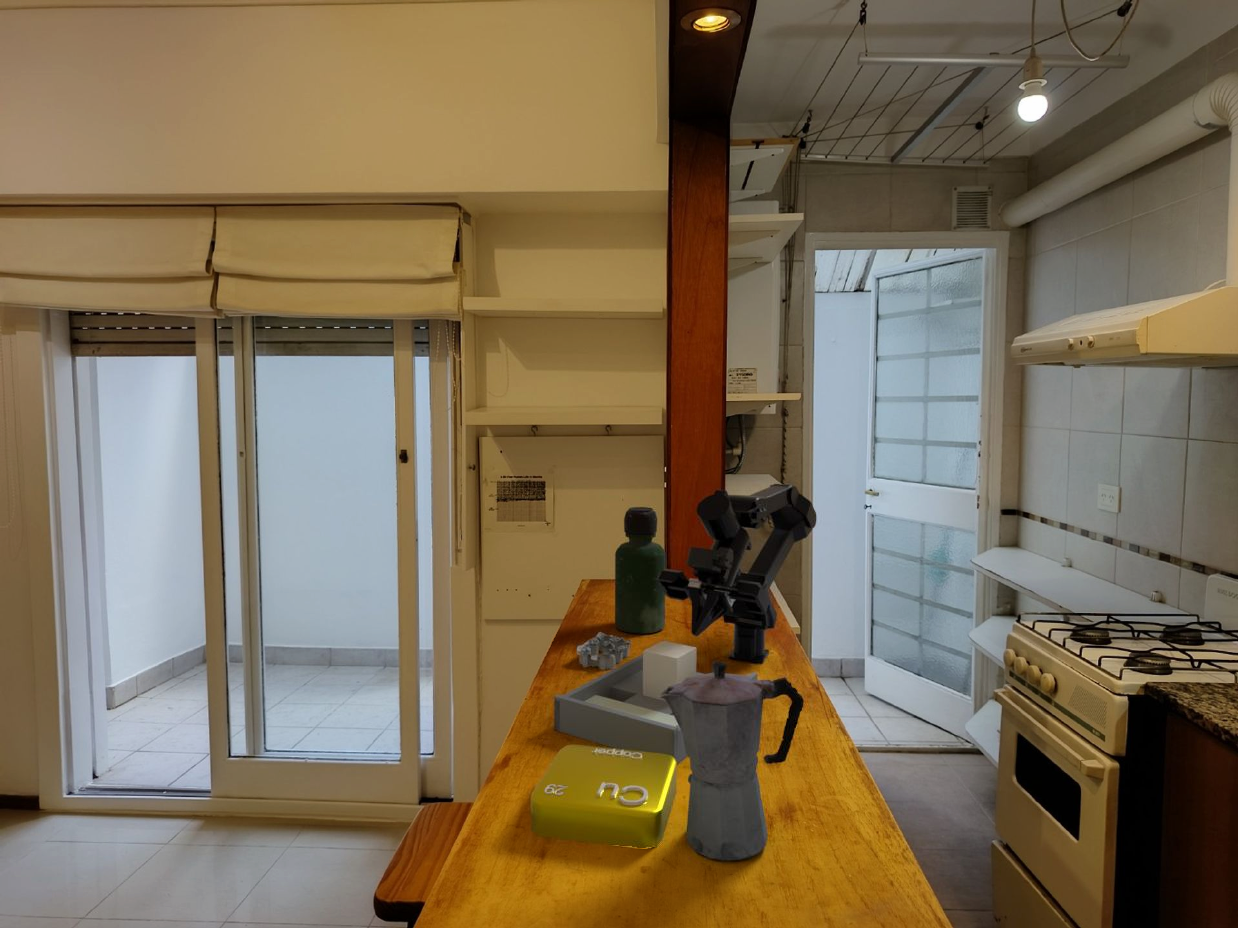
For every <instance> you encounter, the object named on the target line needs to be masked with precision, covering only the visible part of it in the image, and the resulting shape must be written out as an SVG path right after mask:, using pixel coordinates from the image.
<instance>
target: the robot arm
mask: <svg viewBox="0 0 1238 928" xmlns="http://www.w3.org/2000/svg"><path fill="white" fill-rule="evenodd" d="M696 513H697V516H698V518H699V520H700V521H701V524H702V525H703V527H704V529H705V531H706V533H707V535H708V536H709V537H710V538H711V539H713V543H712V545H711V547H710V548H703V547H694V546H690V547H689V550H688V554H687V559H686V564H685V565H686V567H689V568H691V569H693V571H692V574H693V576H694V577H695V578H689V579H688V578H687V576H686V575H685V573H684V571H682V570H677V569H669V568H665V569H664V570H662V571H661V572H660V573H659V576H658V578H657V582H658V584H659V585H660V587H661V588H662V590H663V591H664V593H665V597H667V598H669V599H672V600H677V601H678V600H679V601H682V602H684V601H686V600H687V599H688V600H690V602H691V603H690V604H691V635H692V636H694V637H699V636H700V635H701V634H702V633H704V631H706V630H707V629H708V628H709V627H710V626H711V625H713V623H715V622H716V621H717V620H719V619H720V618H723V623H725V624H731V625H732V624H733V649H732V650H731V651H730V653H729V654H728V656H727V657H728V659H730V660H738V661H746V662H753V663H759V664H760V663H761V664H762V663H764V662H765V660H766V659H767V658H768V655H769V654H770V650H769V649H766V648H765V647H766V631H767V630H769V629H771V630H772V629H775V627H776V623H777V619H778V618H777V616H778V612H777V611H776V608H775V606H774V605H773V602H772V599H771V594H770V588H771V586H772V584H773V582H774V581H775V579H776V577H777V575H778V573H779V571H780V570H781V568H782V566H783V564H784V562H785V560H786V558H787V557H788V555H789V554H790V552H791V550H792V548H793V546H794V544H796V543H799V542H800V541H802V540H804V539H806V538H807V537H808V536H809V535H810V533H811V532H812V531H813V529H814V528H815V527H816V524H817V518H818V517H817V512H816V510H815V508H814V505H813V503H812V501H810V500H809V499H808V498H807V497H805V496H804V495H803V494H801V493H800V492H799V489H798V488H797V485H796V486H795V485H793V484H787V483H786V484H784V483H783V484H782V483H773V484H770V485H769V487H767V488H764V489H761V490H759V491H757V492H754V493H752V494H749V495H745V494H729V493H728V491H727V489H726V490H722V489H715V491H714V493H713V494H710V495H708V496H706V497H704V498H703V499H702V500H701V501H700V502H698V504H697V506H696ZM768 516H769V518H770V520H771V523H772V528H773V529H772V531H771V532H770V534H769V536H768V537H767V539H766V540H765V542H764V544H763V546H762V548H761V549H760V551H759V552H758V554H757V556H756V557H755V559H754V561H753V563H752V564H751V566H750V568H749V569H748V571H747V572H742V570H741V568H740V567H741V564H742V561H743V559H744V556H745V553H746V551H751V550H752V543H751V537H750V535H749V533H748V531H747V530H746V529H749V530H750V529H751V530H759V529H760V528H761V527H762V526H763V525H765V524H766V523H767V522H768V521H767V520H768V519H767V518H768Z"/></svg>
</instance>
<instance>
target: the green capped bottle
mask: <svg viewBox="0 0 1238 928" xmlns="http://www.w3.org/2000/svg"><path fill="white" fill-rule="evenodd" d="M623 527H624V528H623V531H624V533H625V537H626V538H627V539H628V541H626V542H623V543H621V544H620V545H619V546H618V547H617V548H616V550H615V553H614V561H615V562H614V626H615V627H616V628H617V629H618V630H619V631H622V632H624V633H627V634H628V633H629V634H638V635H639V634H640V635H643V634H652V633H653V634H654V633H657V632H659V631H662V630H663V629H664V628H665V626H666V594H665V593H664V591H663V590H662V588H661V587H660V585H659V584H658V582H657V578H658V576H659V573H660V572H661V571H662V570H664V569H667V568H666V564H667V563H666V560H667V559H666V556H667V554H666V551H665V548H664V547H663V546H661V544H659V543H657V542H654V541H653V539H654V538H656V536H657V533H658V515H657V513H656V511H655V510H654V509H653V508H652V507H646V506H645V507H644V506H638V507H636V506H635V507H633V506H632V507H629V508H628V510H626V511H625V514H624V518H623Z"/></svg>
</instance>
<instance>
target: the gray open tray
mask: <svg viewBox="0 0 1238 928" xmlns="http://www.w3.org/2000/svg"><path fill="white" fill-rule="evenodd" d="M704 674H705V673H702V672H698V671H696V676H698V675H704ZM758 675H759V674H758V673H755V672H751V673H749V674H747V676H748V677H749V678H751V679H753V680H755V681H758ZM553 697H554V698H553V700H554V701H553V707H554V708H553V709H554V710H553V714H554V715H553V722H554V724H553V725H554V726H553V727H554V730H555V731H557V732H559V733H560V732H561V733H563V734H565V735H570V736H573V737H576V738H579V739H583V740H586V741H589V742H592V743H595V744H600V745H602V746H604V747H605V746H606V747H607V748H614V749H624V750H633V751H643V752H652V753H662V754H667V755H671V756H673V758H675V760H676V762H677V765H678V764H680V763H681V762H682V761H684V760H685V759H686V758H687V757H688V755H687V754H686V751H685V745H684V739H683V733H682V730H681V728H680V726H679V725H678V723H677V721H676V719H675V717H674V715H673V713H672V711H671V709H670V707H669V705H668V703H667V701H663V700H660V699H656V698H652V697H648V696H644V695H643V653H642V654H640V655H638V656H636V657H634V658H632V659H630V660H628V661H626V662H624V663H622V664H620V665H619V666H617V667H615V668H614V669H610V670H609V671H607V672H605V673H603V674H601V675H599V676H597V677H596V678H594V679H591V680H590V681H588V682H586V683H584V684H582V685H580V686H578V687H576V688H574V689H572V690H571V691H569V692H567V693H564V694H560V693H559V694H556V695H554V696H553Z"/></svg>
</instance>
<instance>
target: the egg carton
mask: <svg viewBox="0 0 1238 928" xmlns="http://www.w3.org/2000/svg"><path fill="white" fill-rule="evenodd" d="M631 646H632V640H631V639H629V640H628V641H626V640H625V639H624V637H622V636H621V637H618V636H615V635H611V634H610V635H607V634H605V633H603V632H601V631H600V632H598V633H597V634H596V635H595V636H594V637H592V638H589V639H588V640H587V641H586V642H584V644H583V643H582V645H577V648H576V654H577V655H578V656H579V659H578V662H579V663H580V664H579V663H578V664H579V665H581V664H582V668H586V667H588V668H590V667H589V666H592V667H595V666H598V667H597V668H599V667H600V668H599V670H600V669H601V670H600V671H607V670H613V669H615V668H616V664H621V663H622V662H623V658H629V657H630V647H631ZM598 650H602V651H601V653H599V651H598ZM597 654H598V655H597ZM595 655H597V656H595ZM628 656H629V657H628ZM621 661H622V662H621ZM614 667H615V668H614ZM606 669H607V670H606Z"/></svg>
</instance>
